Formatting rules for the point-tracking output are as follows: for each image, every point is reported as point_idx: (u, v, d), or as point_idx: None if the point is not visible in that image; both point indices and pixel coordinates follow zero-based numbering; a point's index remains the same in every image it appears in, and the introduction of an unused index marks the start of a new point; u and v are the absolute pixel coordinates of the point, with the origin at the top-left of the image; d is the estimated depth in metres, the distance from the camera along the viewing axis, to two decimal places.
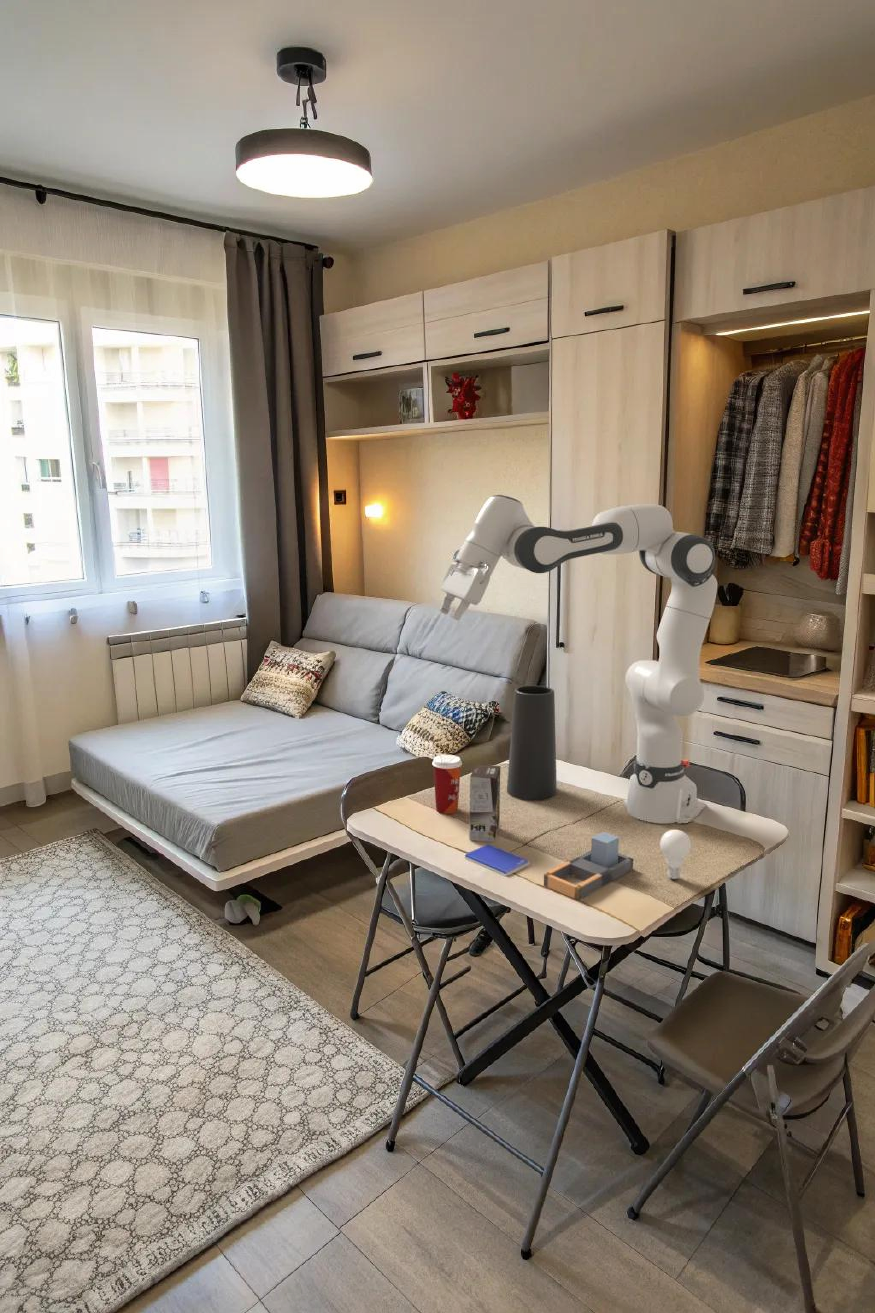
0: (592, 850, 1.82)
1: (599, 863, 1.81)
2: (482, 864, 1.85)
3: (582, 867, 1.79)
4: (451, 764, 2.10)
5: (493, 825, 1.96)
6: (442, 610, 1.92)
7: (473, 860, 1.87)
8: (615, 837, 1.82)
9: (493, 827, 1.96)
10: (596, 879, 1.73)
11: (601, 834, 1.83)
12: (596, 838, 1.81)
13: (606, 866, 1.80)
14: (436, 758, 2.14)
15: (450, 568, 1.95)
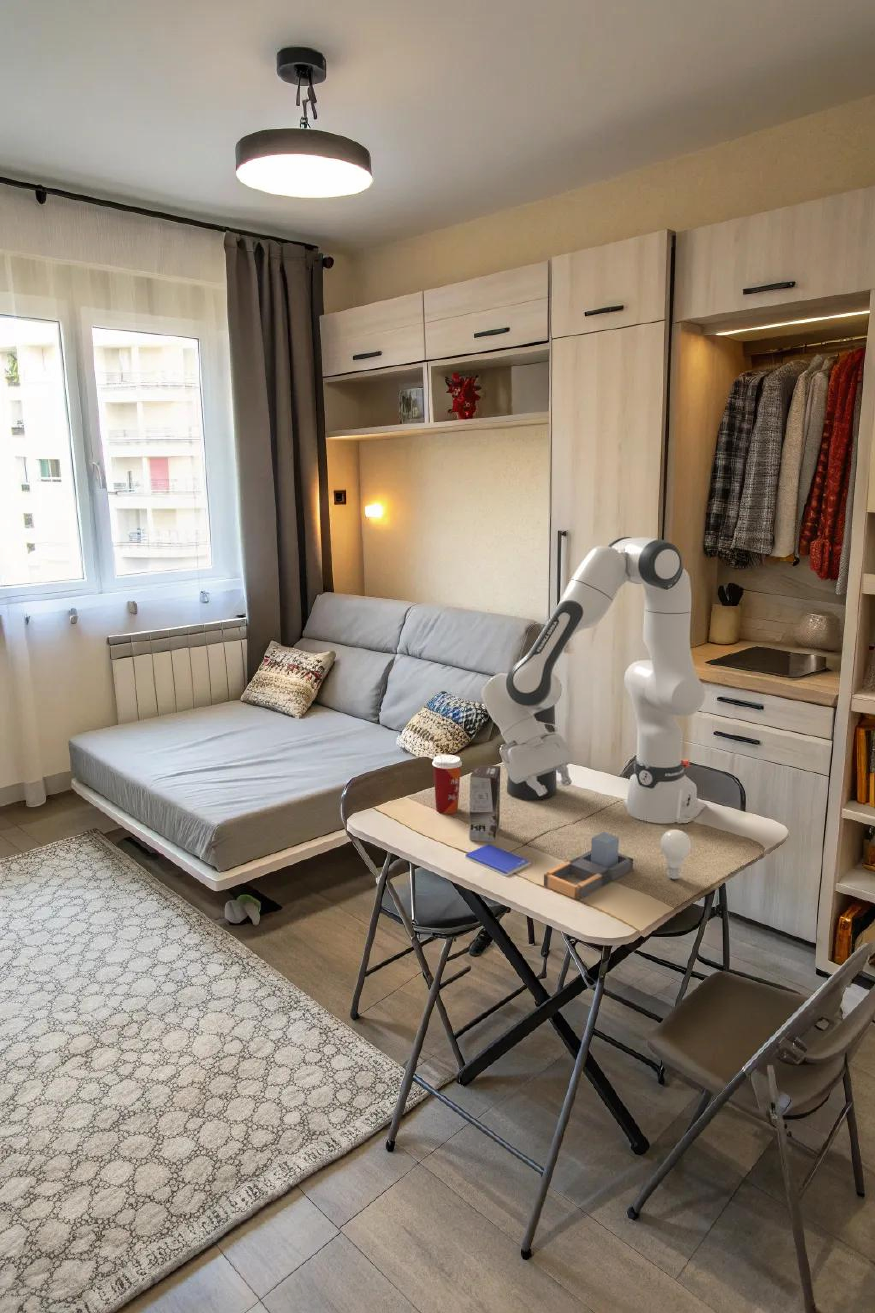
0: (592, 850, 1.82)
1: (599, 863, 1.81)
2: (482, 864, 1.85)
3: (582, 867, 1.79)
4: (451, 764, 2.10)
5: (493, 825, 1.96)
6: (563, 785, 1.92)
7: (474, 860, 1.87)
8: (615, 837, 1.82)
9: (493, 827, 1.96)
10: (596, 879, 1.73)
11: (601, 834, 1.83)
12: (596, 838, 1.81)
13: (606, 866, 1.80)
14: (436, 758, 2.14)
15: None
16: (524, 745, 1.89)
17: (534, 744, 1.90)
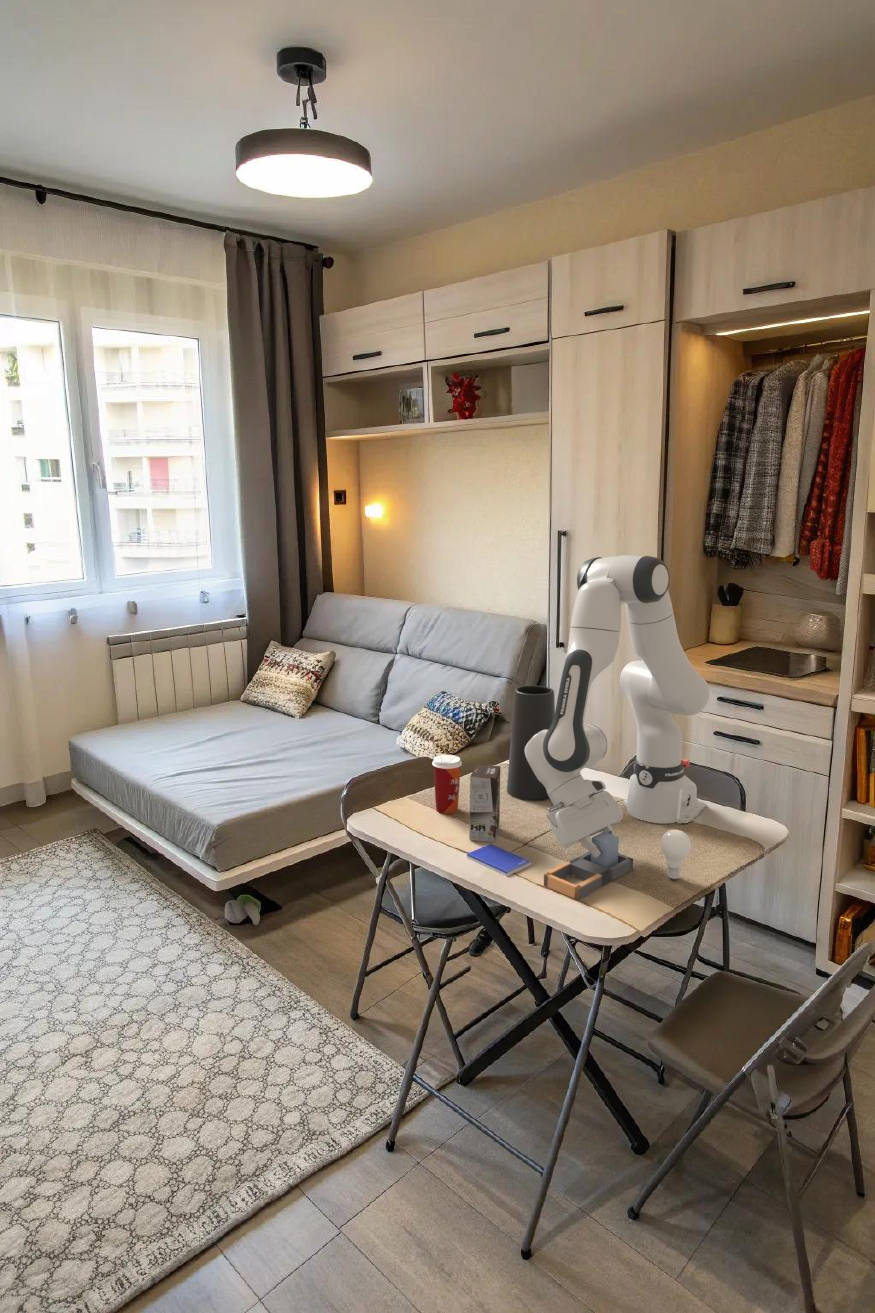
0: None
1: (599, 863, 1.81)
2: (483, 864, 1.85)
3: (582, 867, 1.79)
4: (451, 764, 2.10)
5: (493, 825, 1.96)
6: None
7: (475, 859, 1.87)
8: (615, 837, 1.82)
9: (493, 827, 1.96)
10: (596, 879, 1.73)
11: (601, 834, 1.83)
12: (596, 838, 1.81)
13: (606, 866, 1.80)
14: (436, 758, 2.14)
15: None
16: (572, 806, 1.82)
17: (582, 805, 1.83)
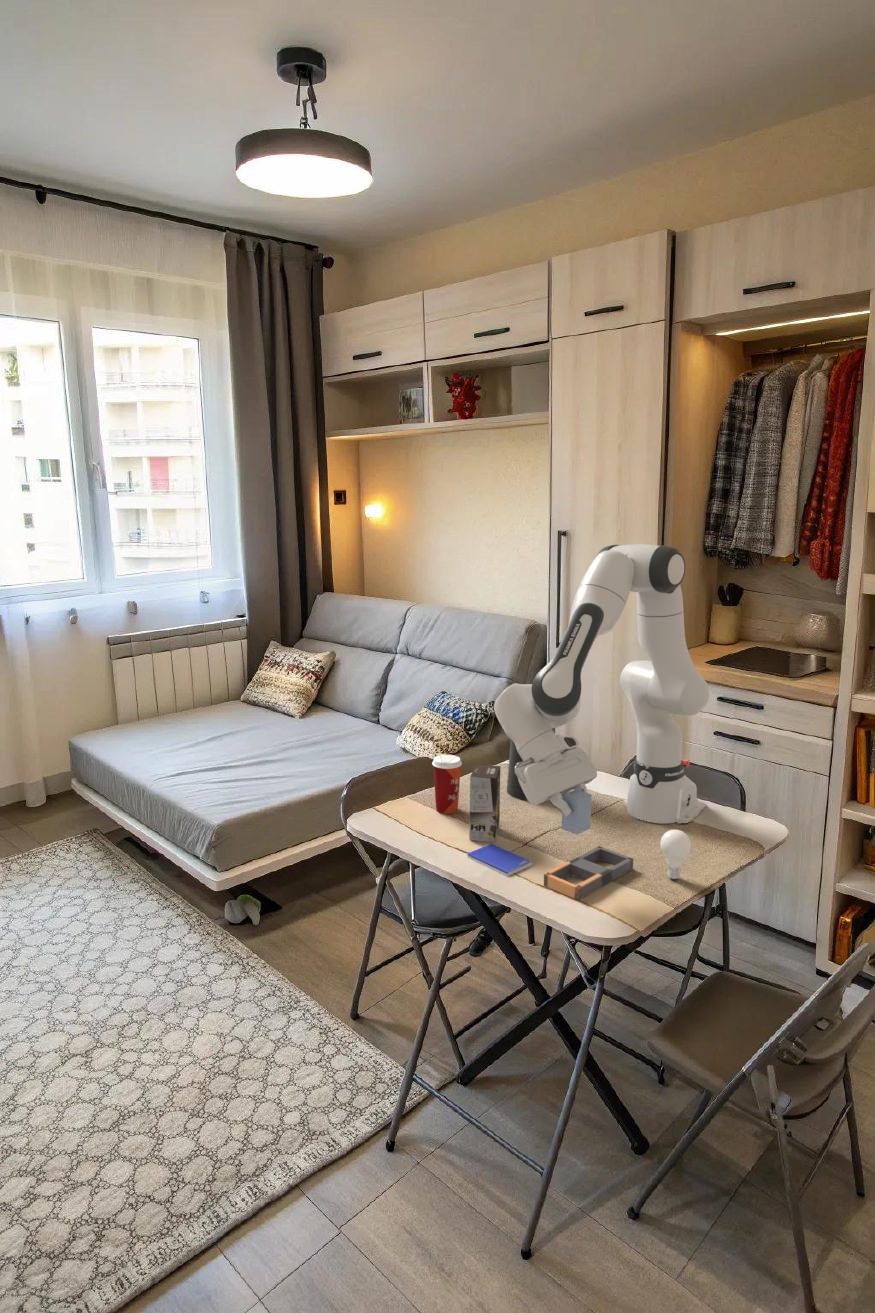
0: None
1: (570, 822, 1.71)
2: (484, 863, 1.85)
3: (582, 867, 1.79)
4: (451, 764, 2.10)
5: (493, 825, 1.96)
6: None
7: (475, 859, 1.87)
8: (588, 794, 1.72)
9: (493, 827, 1.96)
10: (596, 879, 1.73)
11: (573, 791, 1.73)
12: (567, 795, 1.71)
13: (578, 825, 1.70)
14: (436, 758, 2.14)
15: None
16: (542, 762, 1.72)
17: (553, 761, 1.73)
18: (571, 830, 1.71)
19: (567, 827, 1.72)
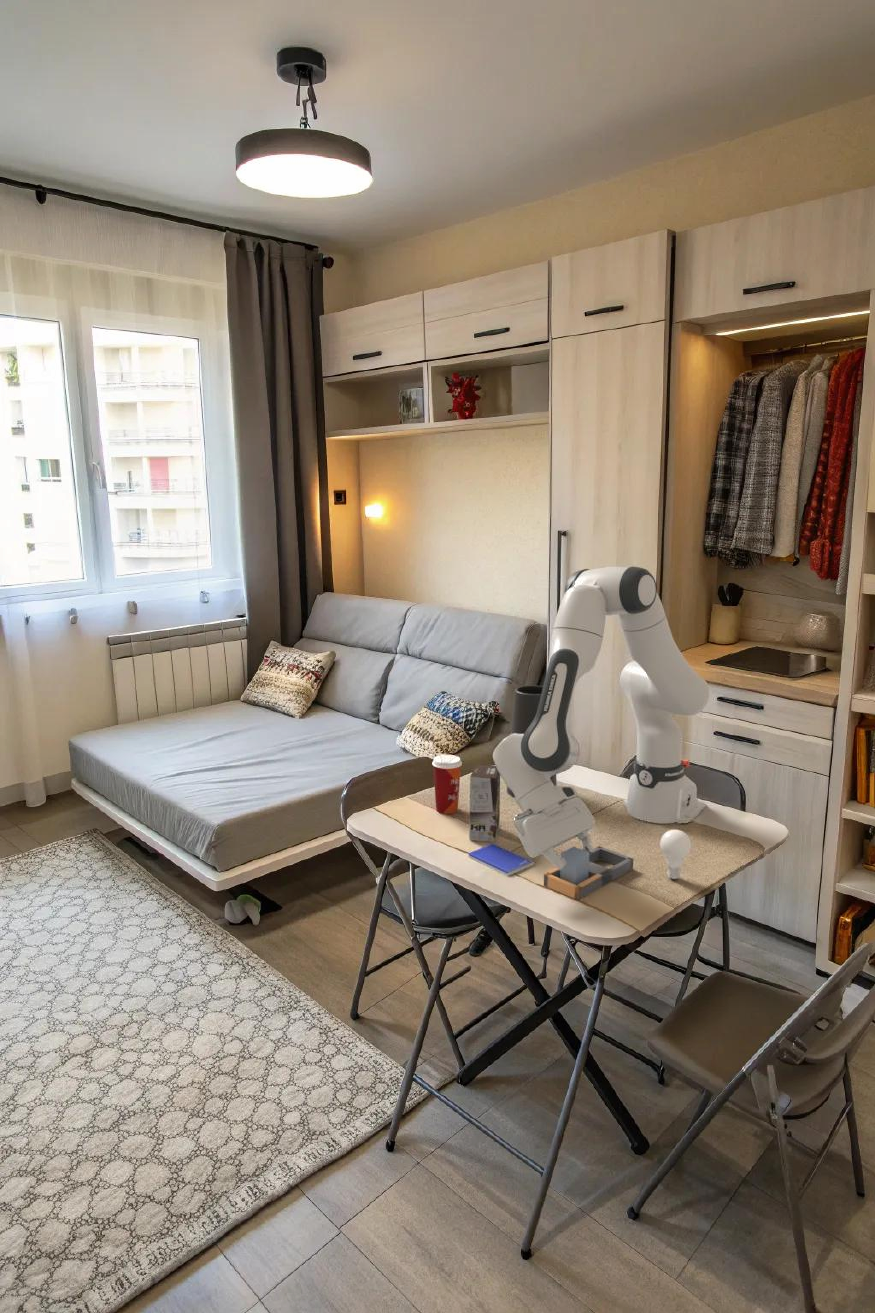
0: None
1: (568, 879, 1.74)
2: (485, 863, 1.85)
3: None
4: (451, 764, 2.10)
5: (493, 825, 1.96)
6: None
7: (476, 859, 1.87)
8: (585, 852, 1.75)
9: (493, 827, 1.96)
10: (596, 879, 1.73)
11: (571, 849, 1.76)
12: (565, 853, 1.74)
13: (576, 883, 1.73)
14: (436, 758, 2.14)
15: None
16: (540, 814, 1.75)
17: (551, 812, 1.75)
18: None
19: None
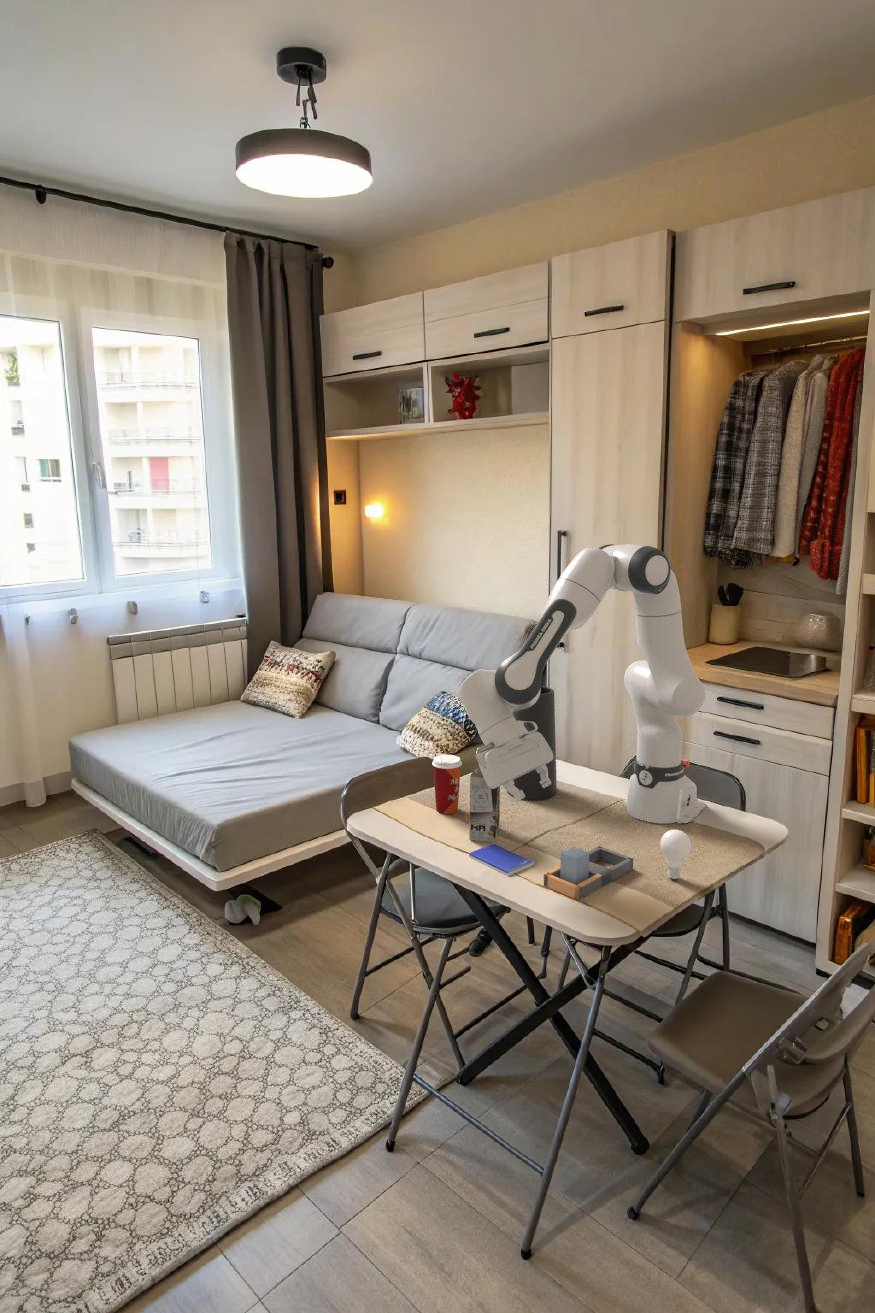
0: (561, 866, 1.75)
1: (568, 879, 1.74)
2: (485, 863, 1.85)
3: None
4: (451, 764, 2.10)
5: (493, 825, 1.96)
6: (543, 786, 1.86)
7: (477, 859, 1.87)
8: (585, 852, 1.75)
9: (493, 827, 1.96)
10: (596, 879, 1.73)
11: (571, 849, 1.76)
12: (565, 853, 1.74)
13: (576, 883, 1.73)
14: (436, 758, 2.14)
15: None
16: (502, 747, 1.81)
17: (512, 746, 1.82)
18: None
19: None
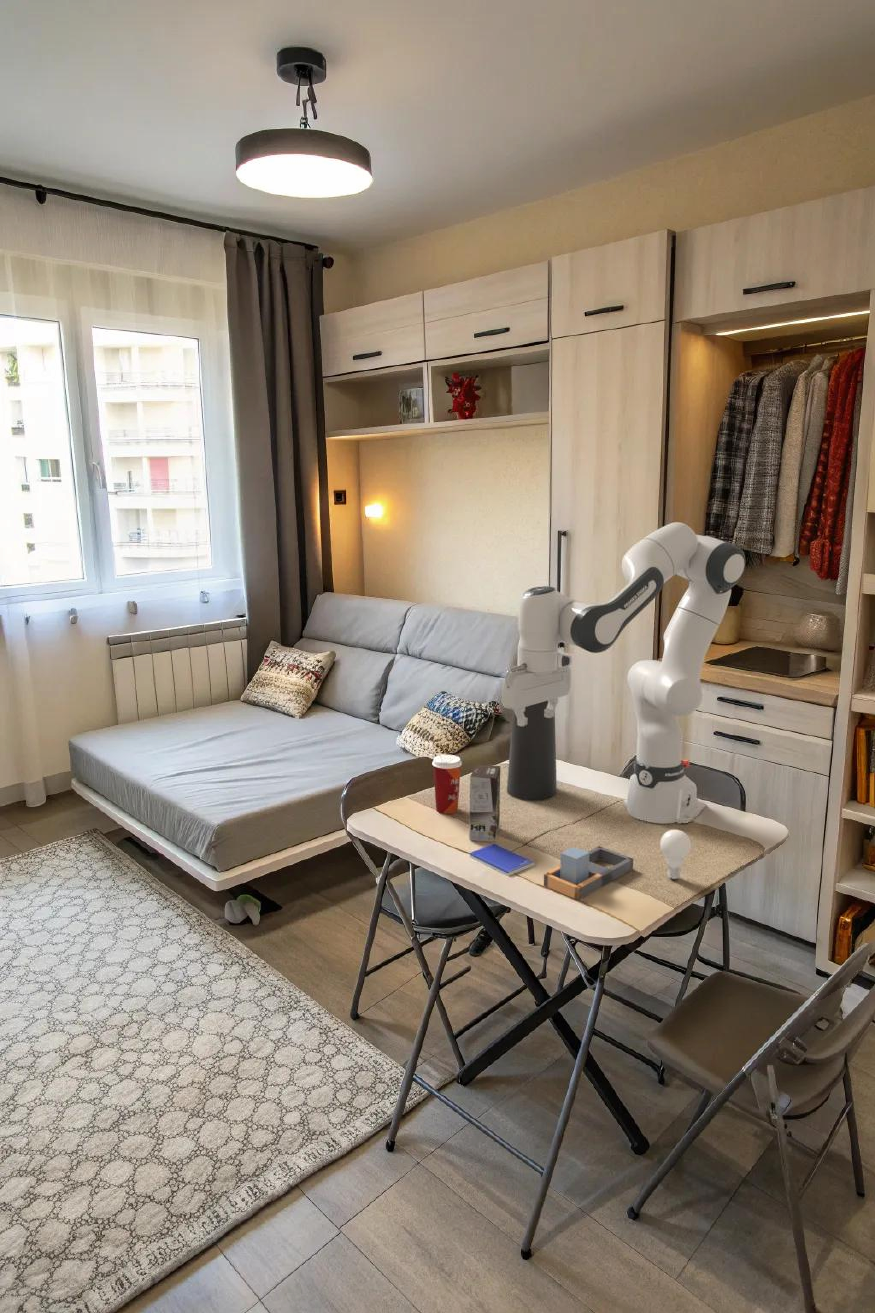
0: (561, 866, 1.75)
1: (568, 879, 1.74)
2: (486, 863, 1.85)
3: None
4: (451, 764, 2.10)
5: (493, 825, 1.96)
6: (545, 715, 1.89)
7: (477, 859, 1.87)
8: (585, 852, 1.75)
9: (493, 827, 1.96)
10: (596, 879, 1.73)
11: (571, 849, 1.76)
12: (565, 853, 1.74)
13: (576, 883, 1.73)
14: (436, 758, 2.14)
15: None
16: (532, 674, 1.80)
17: (541, 677, 1.81)
18: None
19: None
